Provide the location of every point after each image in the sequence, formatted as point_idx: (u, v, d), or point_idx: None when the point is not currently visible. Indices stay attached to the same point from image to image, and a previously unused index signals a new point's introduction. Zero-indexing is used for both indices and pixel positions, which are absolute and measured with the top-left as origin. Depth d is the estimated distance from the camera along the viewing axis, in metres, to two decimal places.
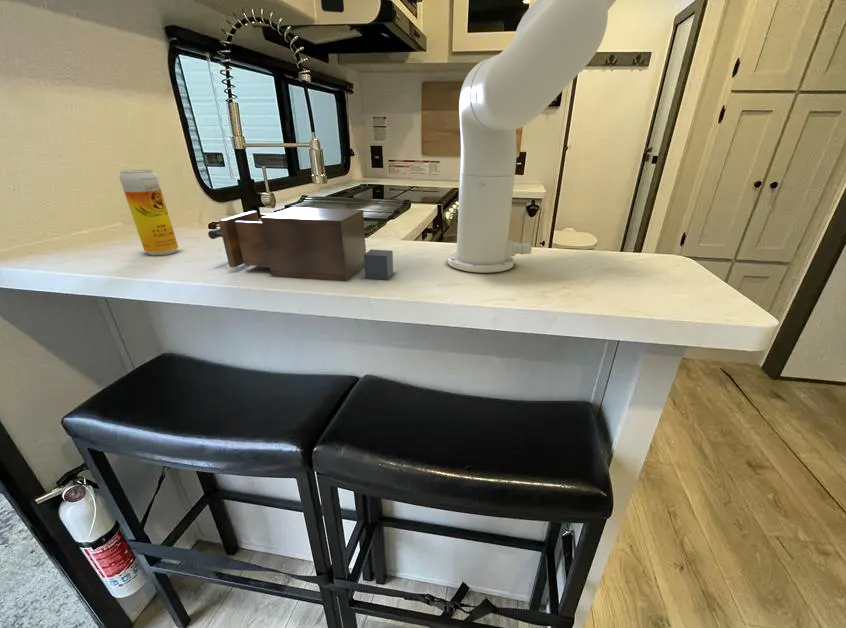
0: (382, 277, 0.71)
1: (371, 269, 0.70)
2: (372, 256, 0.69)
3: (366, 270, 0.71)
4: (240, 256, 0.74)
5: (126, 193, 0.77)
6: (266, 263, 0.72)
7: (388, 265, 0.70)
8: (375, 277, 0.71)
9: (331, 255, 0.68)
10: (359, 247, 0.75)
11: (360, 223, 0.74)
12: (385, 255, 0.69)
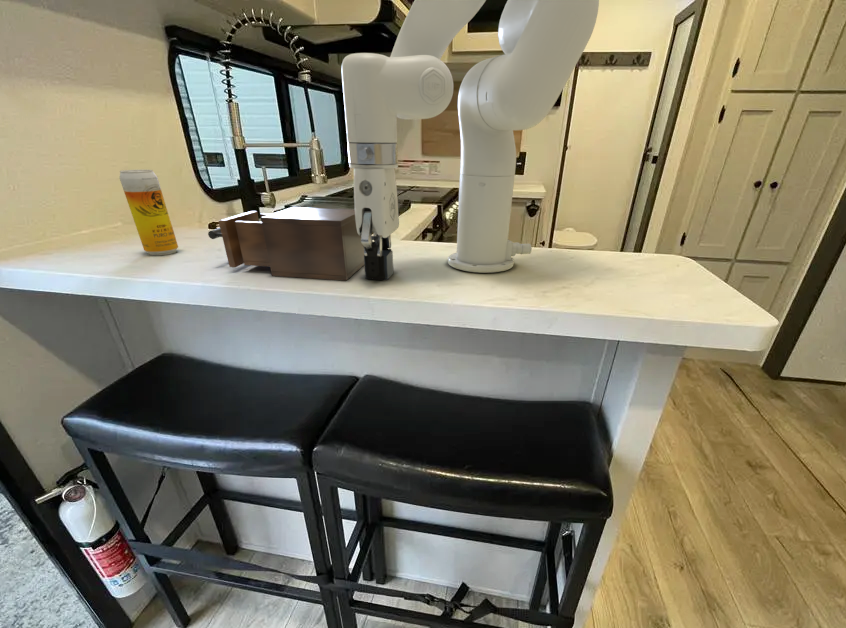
0: None
1: None
2: None
3: None
4: (240, 256, 0.74)
5: (126, 193, 0.77)
6: (266, 263, 0.72)
7: (388, 265, 0.70)
8: None
9: (331, 255, 0.68)
10: (359, 247, 0.75)
11: None
12: (385, 255, 0.69)
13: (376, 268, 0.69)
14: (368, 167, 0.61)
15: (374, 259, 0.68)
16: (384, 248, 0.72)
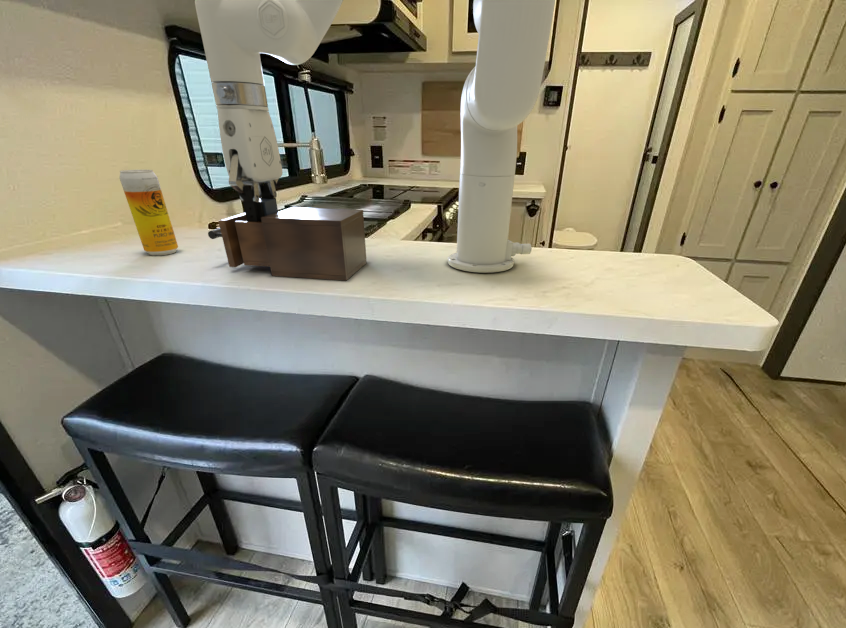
0: None
1: None
2: None
3: None
4: (240, 256, 0.74)
5: (126, 193, 0.77)
6: (266, 263, 0.72)
7: (269, 212, 0.71)
8: None
9: (331, 255, 0.68)
10: (359, 247, 0.75)
11: (360, 223, 0.74)
12: (264, 201, 0.70)
13: (254, 214, 0.69)
14: (231, 107, 0.61)
15: (251, 204, 0.69)
16: (268, 197, 0.73)
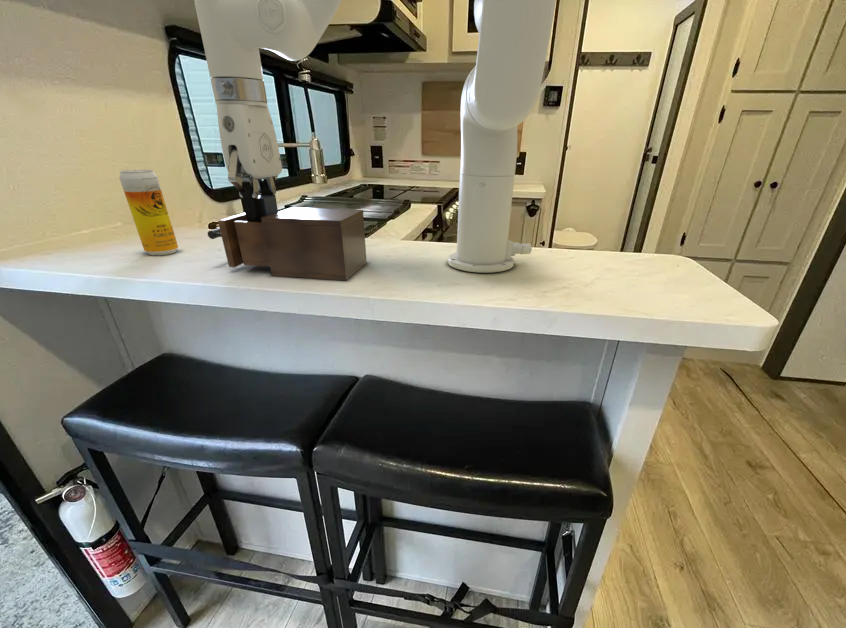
0: None
1: None
2: None
3: None
4: (239, 256, 0.74)
5: (126, 193, 0.77)
6: (266, 263, 0.72)
7: (268, 209, 0.71)
8: None
9: (331, 255, 0.68)
10: (359, 247, 0.75)
11: (360, 223, 0.74)
12: (263, 198, 0.70)
13: (253, 211, 0.69)
14: (230, 102, 0.61)
15: (250, 201, 0.68)
16: (267, 194, 0.73)
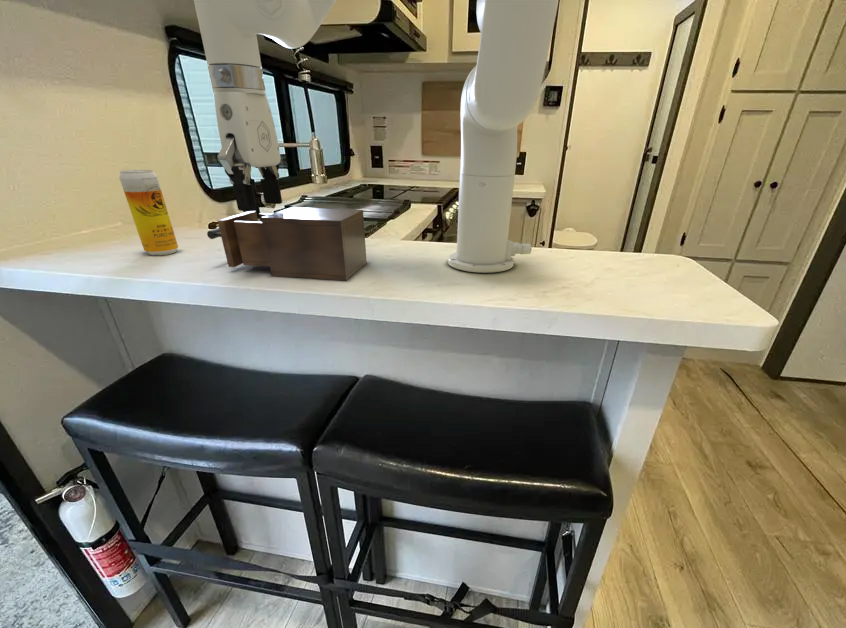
0: None
1: None
2: None
3: None
4: (239, 256, 0.74)
5: (126, 193, 0.77)
6: (265, 263, 0.72)
7: None
8: None
9: (331, 255, 0.68)
10: (359, 247, 0.75)
11: (360, 223, 0.74)
12: None
13: (245, 197, 0.66)
14: (227, 90, 0.60)
15: (241, 187, 0.66)
16: (271, 178, 0.73)
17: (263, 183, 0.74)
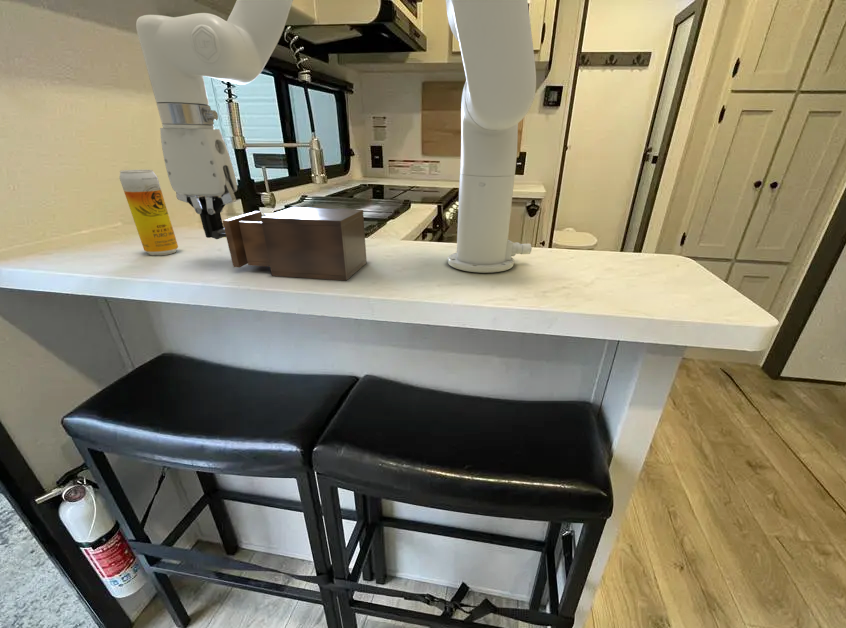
0: None
1: None
2: None
3: None
4: (244, 256, 0.74)
5: (126, 193, 0.77)
6: None
7: None
8: None
9: (331, 255, 0.68)
10: (359, 247, 0.75)
11: (360, 223, 0.74)
12: None
13: (221, 224, 0.75)
14: (211, 127, 0.67)
15: (218, 215, 0.74)
16: None
17: None
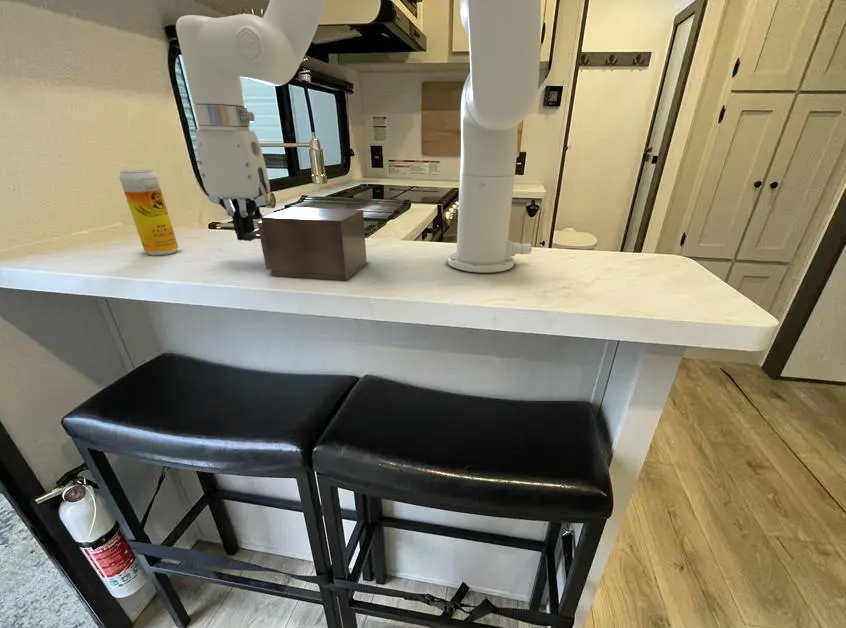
0: None
1: None
2: None
3: None
4: None
5: (126, 193, 0.77)
6: None
7: None
8: None
9: (331, 255, 0.68)
10: (359, 247, 0.75)
11: (360, 223, 0.74)
12: None
13: (253, 226, 0.74)
14: (247, 129, 0.66)
15: (251, 217, 0.73)
16: None
17: None
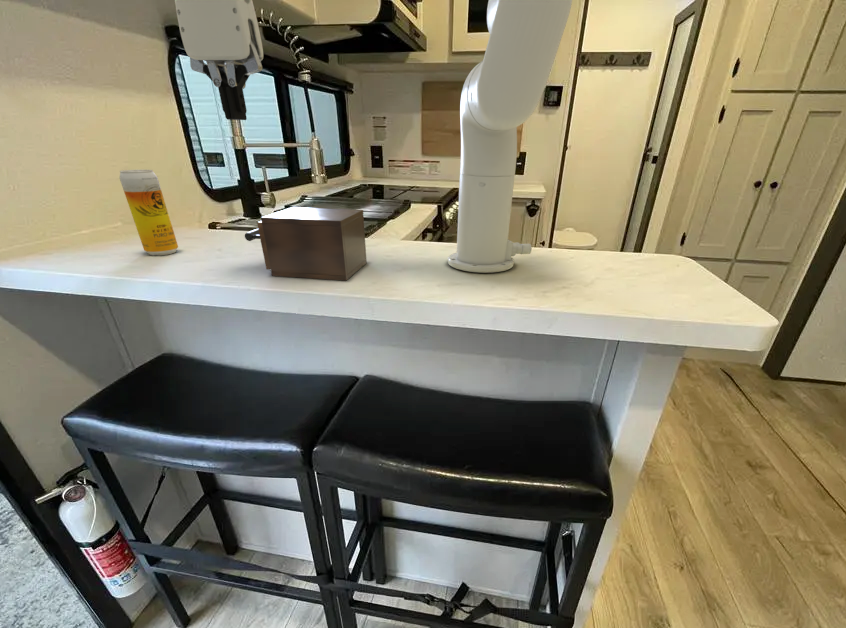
0: None
1: None
2: None
3: None
4: None
5: (126, 193, 0.77)
6: None
7: None
8: None
9: (331, 255, 0.68)
10: (359, 247, 0.75)
11: (360, 223, 0.74)
12: None
13: (244, 103, 0.63)
14: None
15: (241, 91, 0.62)
16: None
17: None
